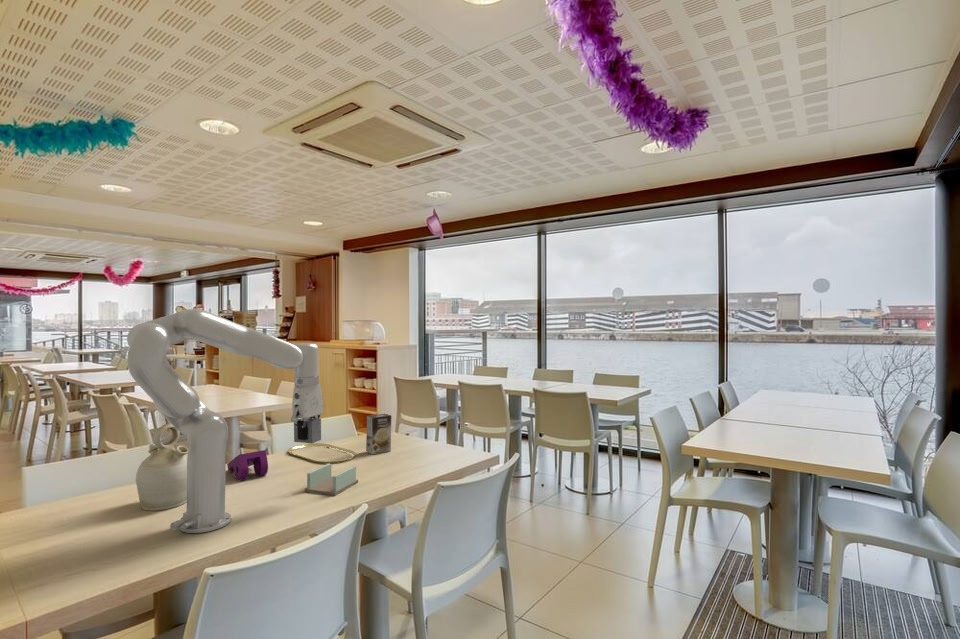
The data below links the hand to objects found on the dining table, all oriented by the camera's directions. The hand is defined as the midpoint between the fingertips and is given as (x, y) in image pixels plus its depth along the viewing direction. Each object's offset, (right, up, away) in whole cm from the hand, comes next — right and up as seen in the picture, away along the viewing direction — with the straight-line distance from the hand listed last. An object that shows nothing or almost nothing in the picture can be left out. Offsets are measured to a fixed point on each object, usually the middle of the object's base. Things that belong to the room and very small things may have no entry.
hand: (307, 437), depth 157 cm
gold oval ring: (-13, -21, +52) cm, 58 cm away
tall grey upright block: (0, -1, 0) cm, 1 cm away
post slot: (+5, -20, +11) cm, 23 cm away
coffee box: (+11, -21, +57) cm, 62 cm away
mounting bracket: (-32, -20, +25) cm, 46 cm away
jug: (-43, -20, -5) cm, 47 cm away
